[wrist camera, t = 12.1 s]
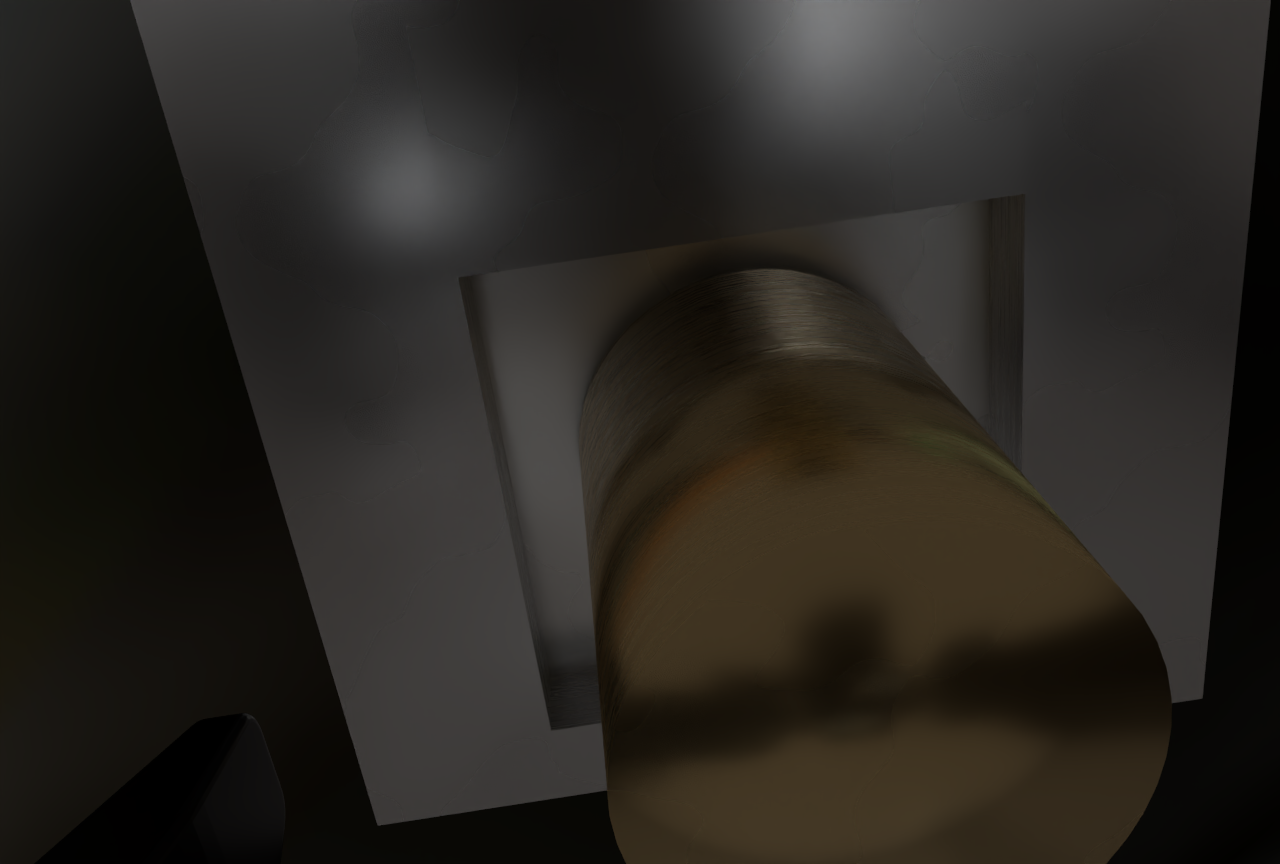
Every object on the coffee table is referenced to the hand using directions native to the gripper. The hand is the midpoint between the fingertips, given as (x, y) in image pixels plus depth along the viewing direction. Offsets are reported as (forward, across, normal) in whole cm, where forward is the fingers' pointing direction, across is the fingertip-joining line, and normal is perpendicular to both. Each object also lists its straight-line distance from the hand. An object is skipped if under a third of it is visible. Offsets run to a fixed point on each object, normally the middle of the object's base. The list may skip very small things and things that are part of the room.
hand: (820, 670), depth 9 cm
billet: (+4, 0, 0) cm, 4 cm away
